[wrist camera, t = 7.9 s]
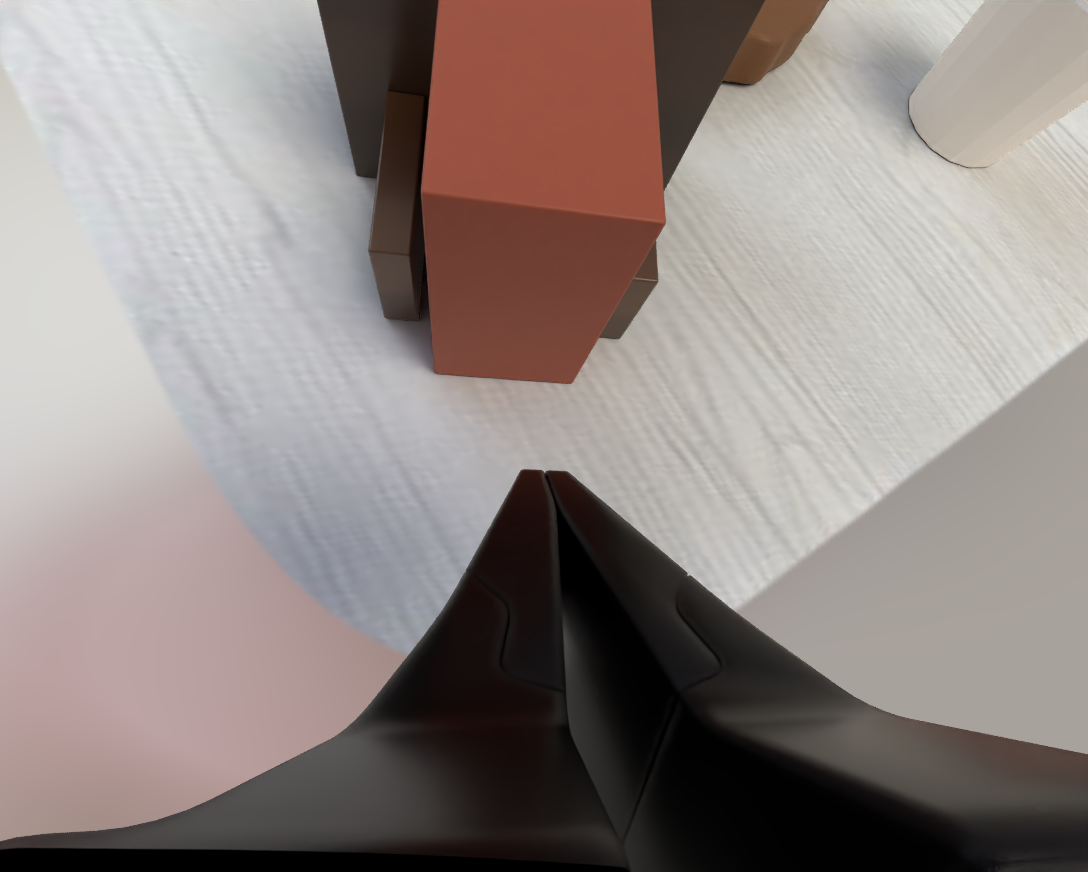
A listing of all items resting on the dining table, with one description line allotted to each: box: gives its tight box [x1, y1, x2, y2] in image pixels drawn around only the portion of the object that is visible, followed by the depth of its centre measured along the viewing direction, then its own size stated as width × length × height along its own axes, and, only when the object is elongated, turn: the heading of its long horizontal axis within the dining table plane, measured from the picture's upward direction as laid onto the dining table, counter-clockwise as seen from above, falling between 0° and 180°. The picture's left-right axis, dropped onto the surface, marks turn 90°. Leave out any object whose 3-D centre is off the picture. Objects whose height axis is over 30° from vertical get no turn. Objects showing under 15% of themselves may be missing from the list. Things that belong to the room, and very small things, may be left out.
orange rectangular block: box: [421, 0, 666, 384], centre depth 16 cm, size 8×5×9 cm, turn 179°
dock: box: [317, 0, 766, 339], centre depth 17 cm, size 10×12×9 cm
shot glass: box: [909, 0, 1088, 168], centre depth 24 cm, size 7×7×7 cm
